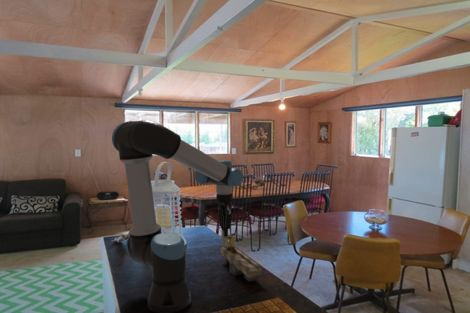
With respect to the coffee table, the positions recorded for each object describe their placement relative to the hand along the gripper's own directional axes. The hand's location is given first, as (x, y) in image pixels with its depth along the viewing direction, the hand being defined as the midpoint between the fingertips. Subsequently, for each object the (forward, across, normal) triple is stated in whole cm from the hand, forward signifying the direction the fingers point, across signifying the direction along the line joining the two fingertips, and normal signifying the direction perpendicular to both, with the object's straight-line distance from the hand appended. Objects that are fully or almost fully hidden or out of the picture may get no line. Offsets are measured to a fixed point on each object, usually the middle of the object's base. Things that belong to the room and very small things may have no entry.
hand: (224, 242), depth 153 cm
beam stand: (+8, -16, 0) cm, 18 cm away
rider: (+2, -7, 0) cm, 7 cm away
